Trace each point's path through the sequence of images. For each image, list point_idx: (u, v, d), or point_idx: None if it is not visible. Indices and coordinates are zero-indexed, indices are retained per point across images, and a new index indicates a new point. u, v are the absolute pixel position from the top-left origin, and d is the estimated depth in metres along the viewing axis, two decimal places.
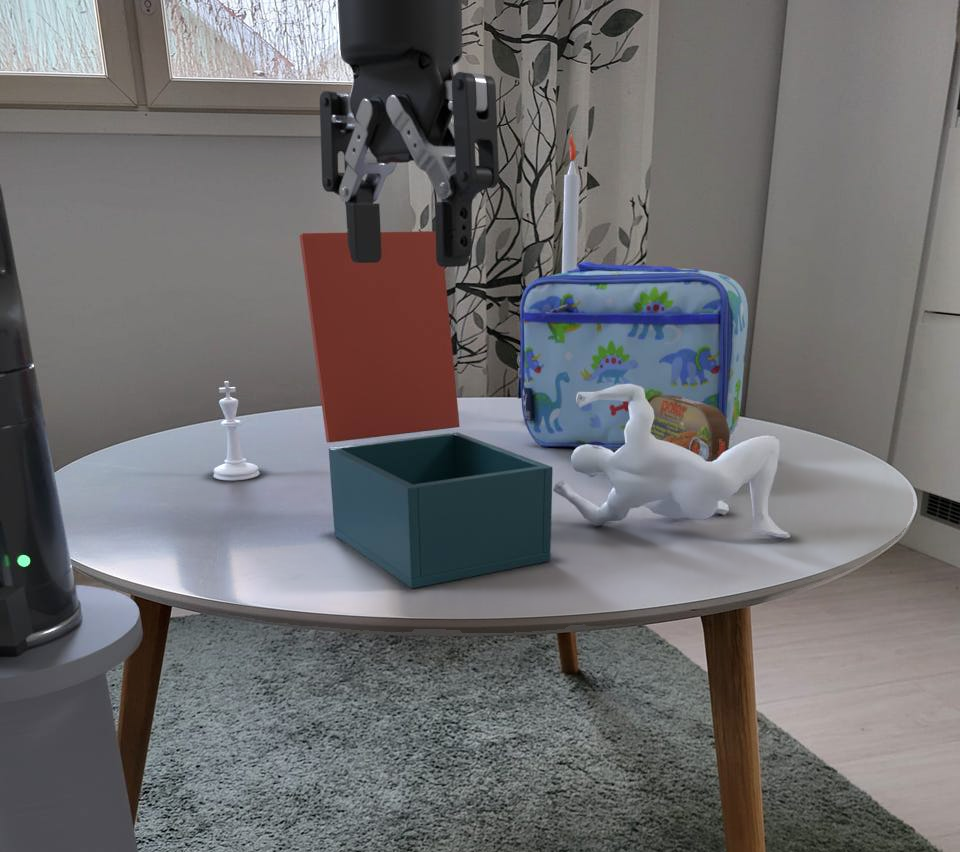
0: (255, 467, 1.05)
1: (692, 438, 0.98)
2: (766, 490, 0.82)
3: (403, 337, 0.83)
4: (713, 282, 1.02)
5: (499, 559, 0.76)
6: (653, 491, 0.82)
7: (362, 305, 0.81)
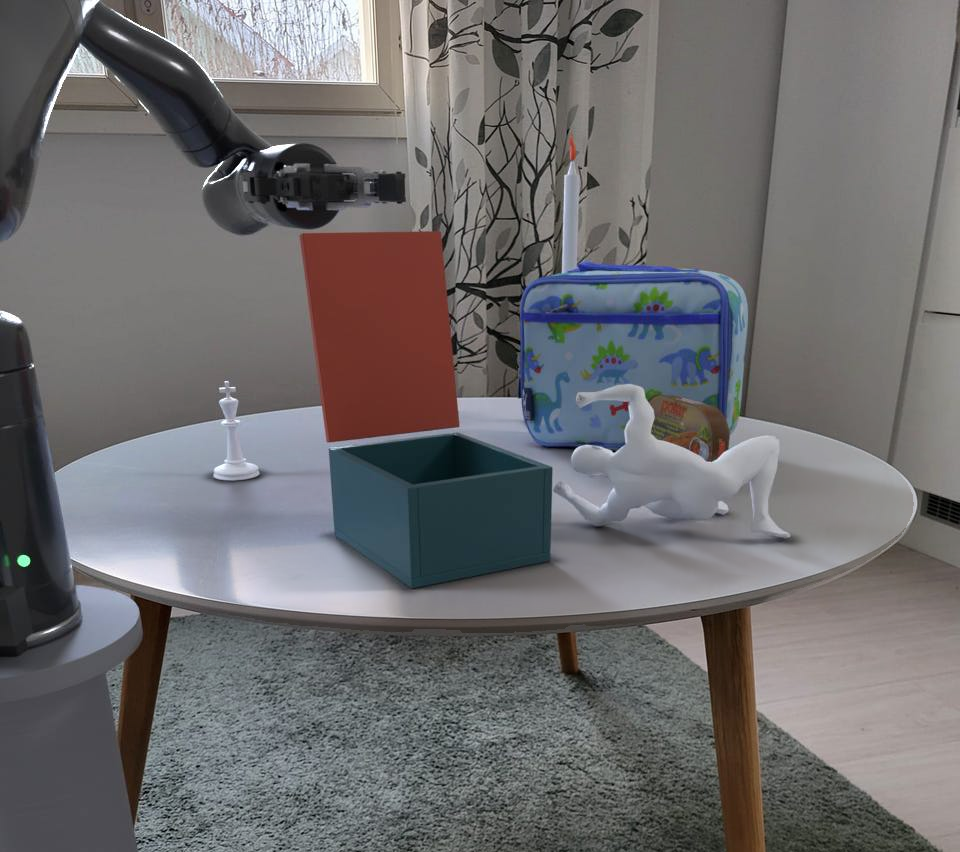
0: (255, 467, 1.05)
1: (692, 438, 0.98)
2: (767, 490, 0.82)
3: (403, 337, 0.83)
4: (713, 282, 1.02)
5: (499, 559, 0.76)
6: (653, 492, 0.82)
7: (362, 305, 0.81)
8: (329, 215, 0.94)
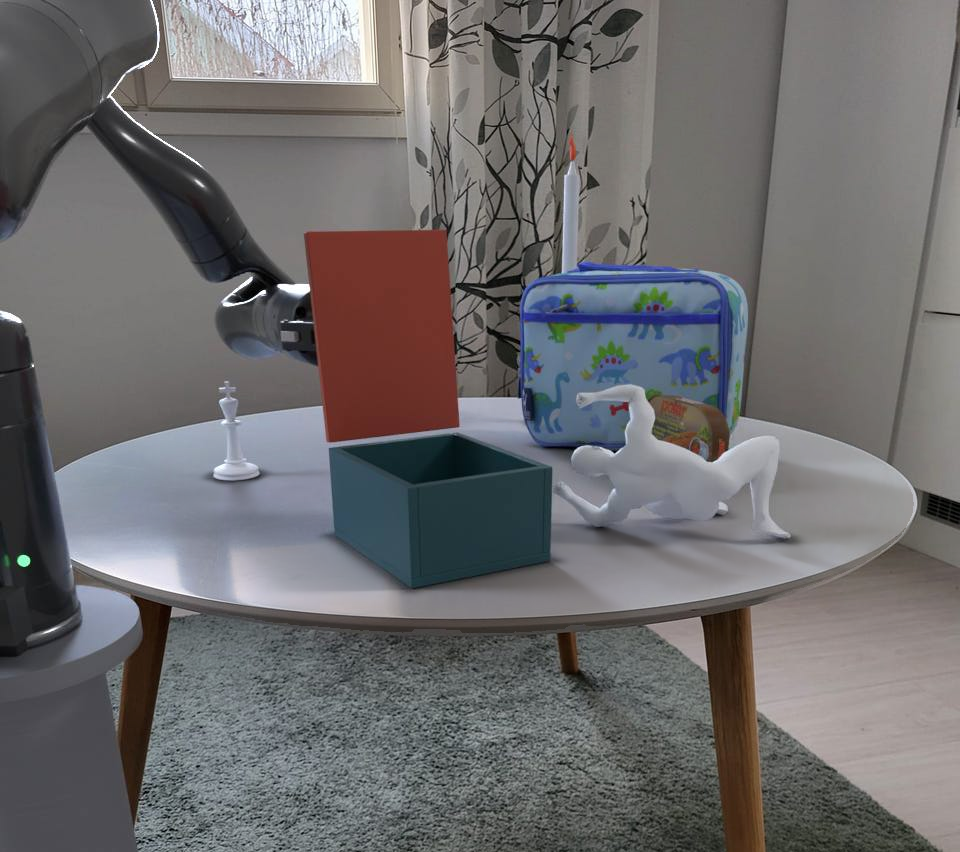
0: (255, 467, 1.05)
1: (692, 438, 0.98)
2: (767, 490, 0.82)
3: (405, 337, 0.83)
4: (713, 282, 1.02)
5: (499, 559, 0.76)
6: (654, 492, 0.82)
7: (365, 305, 0.80)
8: None
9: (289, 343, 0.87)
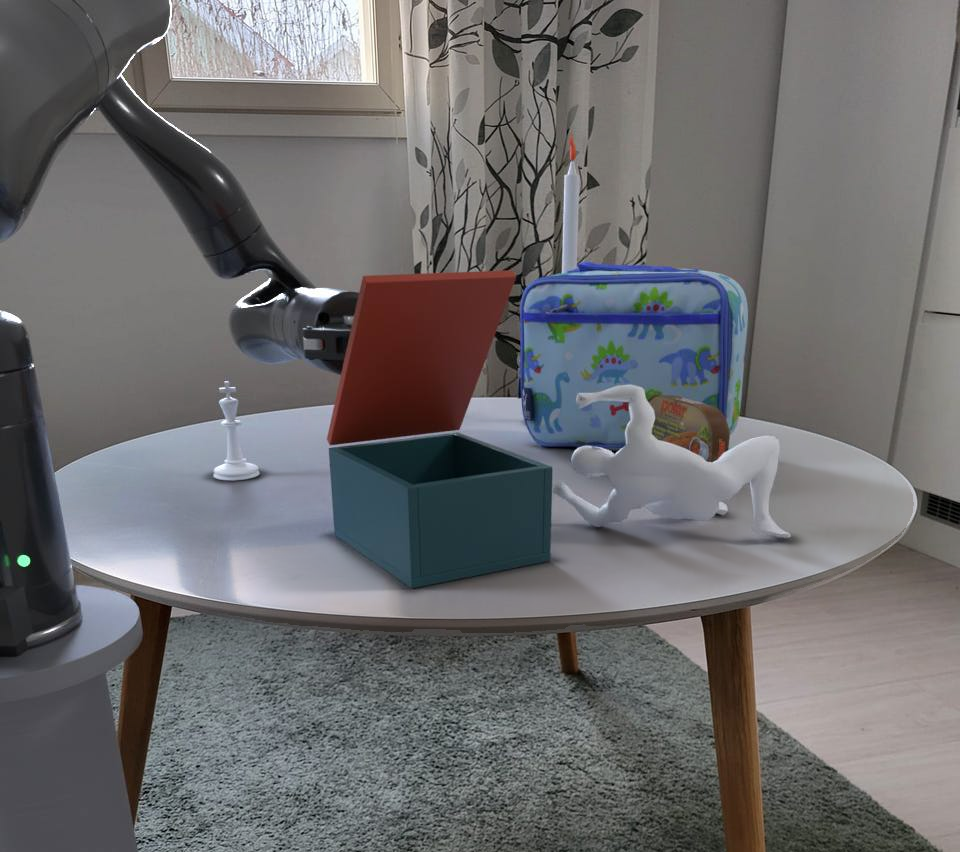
0: (255, 467, 1.05)
1: (692, 438, 0.98)
2: (767, 490, 0.82)
3: (436, 365, 0.79)
4: (713, 282, 1.02)
5: (499, 559, 0.76)
6: (654, 492, 0.82)
7: (405, 341, 0.75)
8: None
9: (312, 351, 0.82)
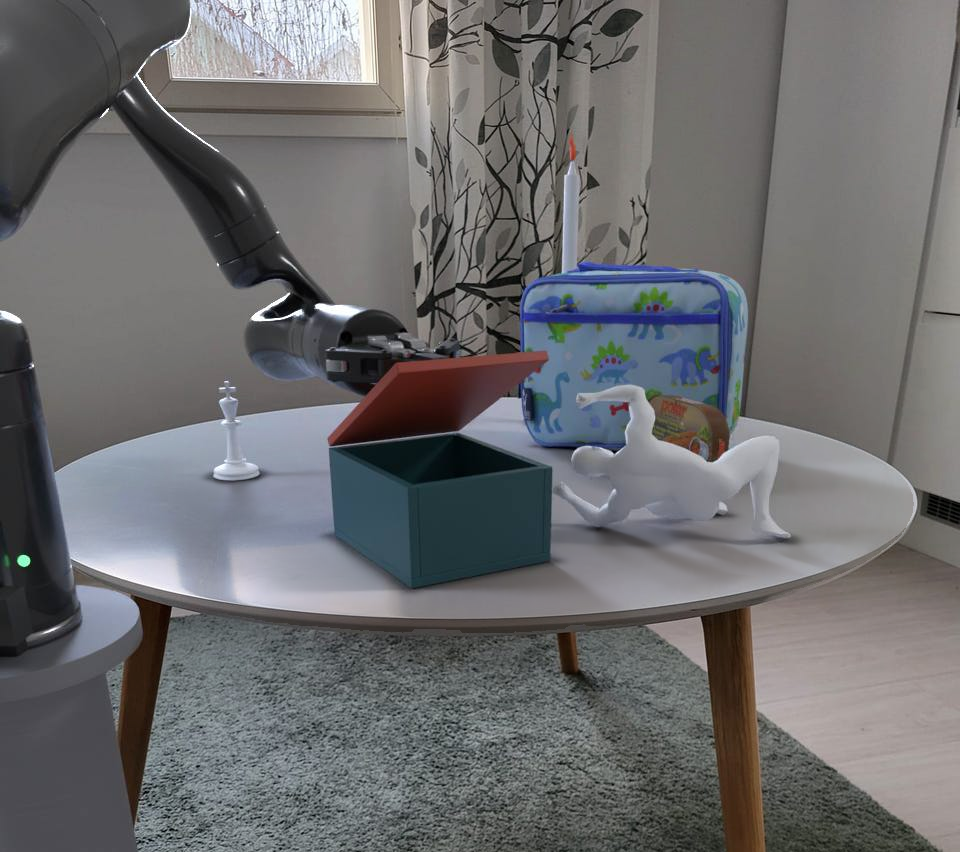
0: (255, 467, 1.05)
1: (692, 438, 0.98)
2: (767, 490, 0.82)
3: (449, 405, 0.78)
4: (713, 282, 1.02)
5: (499, 559, 0.76)
6: (655, 493, 0.82)
7: (424, 396, 0.74)
8: None
9: (335, 373, 0.79)
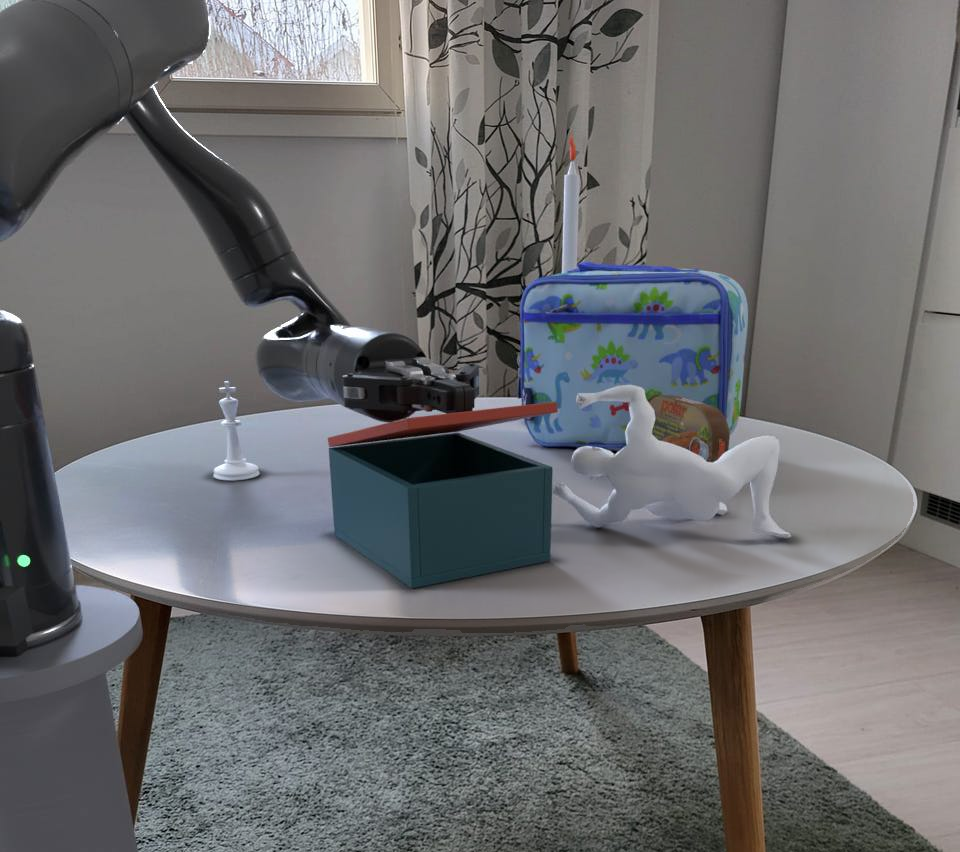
0: (255, 467, 1.05)
1: (692, 438, 0.98)
2: (768, 490, 0.82)
3: None
4: (713, 282, 1.02)
5: (499, 559, 0.76)
6: (655, 493, 0.82)
7: (430, 430, 0.75)
8: None
9: (353, 400, 0.77)
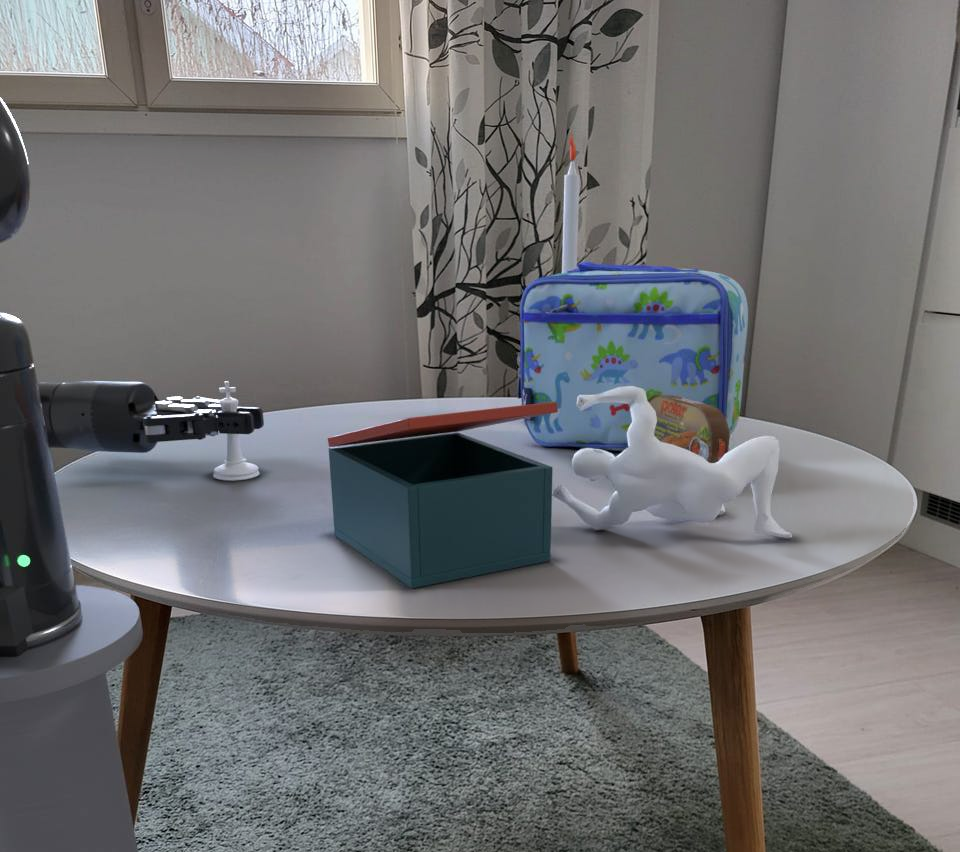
0: (255, 467, 1.05)
1: (692, 438, 0.98)
2: (769, 491, 0.82)
3: None
4: (713, 282, 1.02)
5: (499, 559, 0.76)
6: (657, 494, 0.81)
7: (430, 430, 0.75)
8: None
9: (156, 436, 0.99)
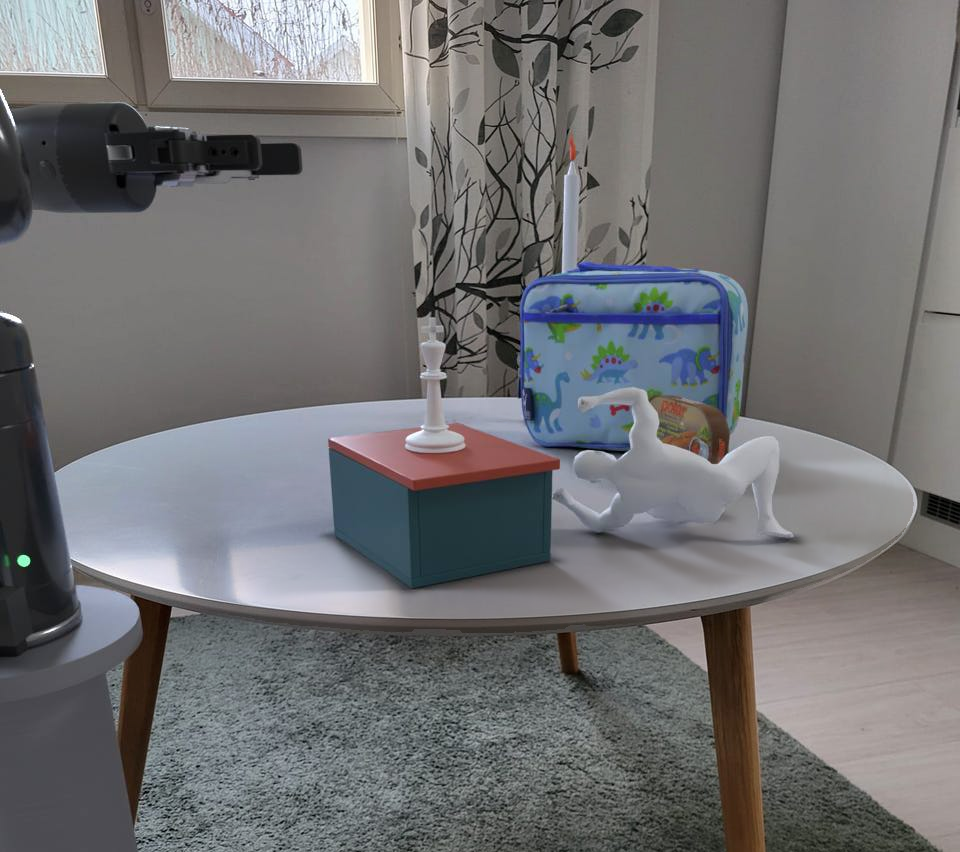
0: (461, 436, 0.78)
1: (692, 438, 0.98)
2: (771, 491, 0.82)
3: None
4: (713, 282, 1.02)
5: (499, 559, 0.76)
6: (661, 496, 0.80)
7: None
8: (153, 194, 0.76)
9: (119, 162, 0.67)
